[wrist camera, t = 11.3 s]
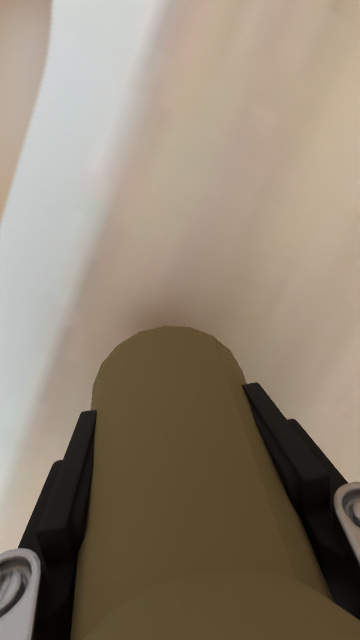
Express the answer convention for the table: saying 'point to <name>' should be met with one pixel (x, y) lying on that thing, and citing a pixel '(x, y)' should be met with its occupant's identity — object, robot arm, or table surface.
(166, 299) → the table surface
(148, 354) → the pepper mill
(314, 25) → the table surface
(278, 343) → the table surface
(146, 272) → the table surface
